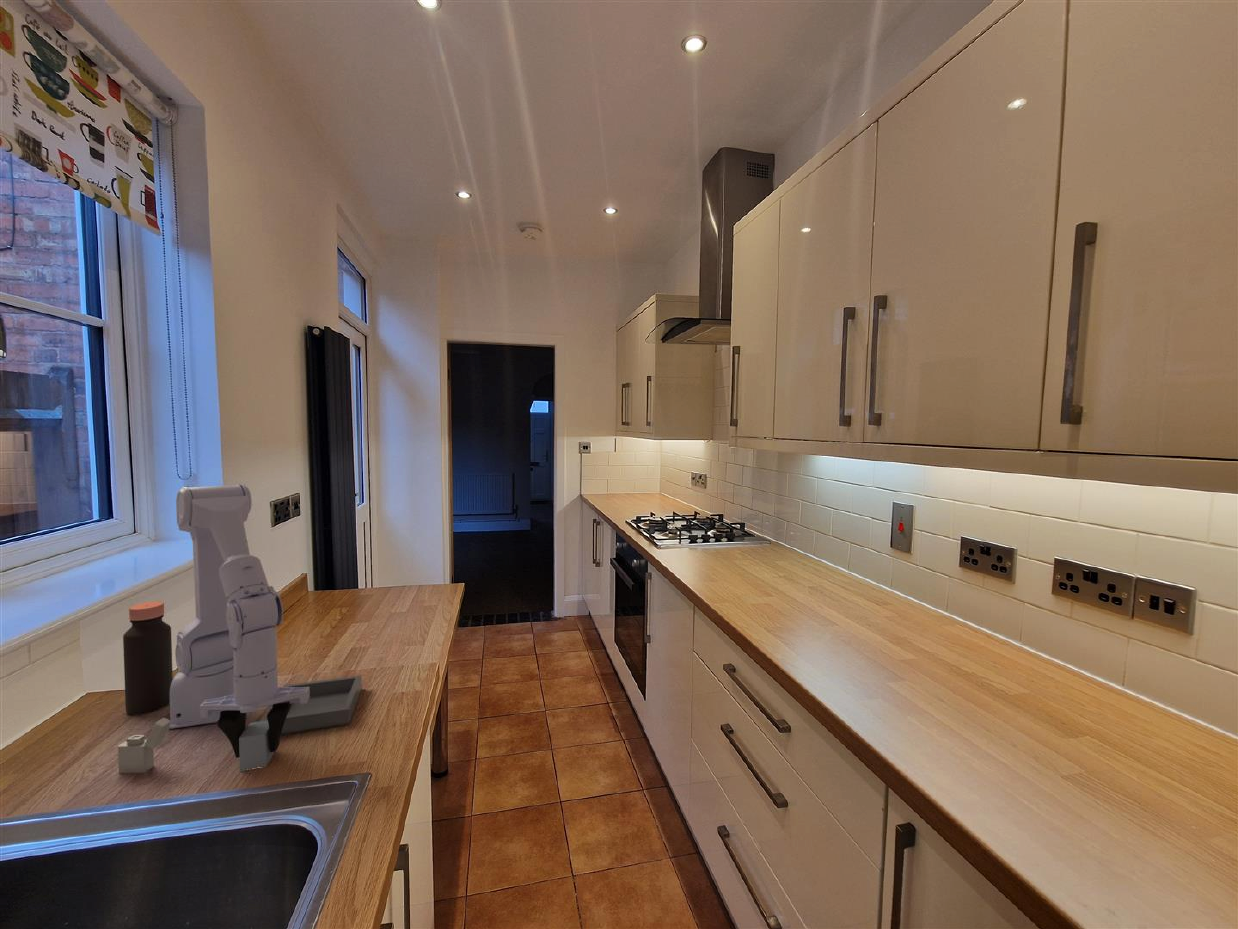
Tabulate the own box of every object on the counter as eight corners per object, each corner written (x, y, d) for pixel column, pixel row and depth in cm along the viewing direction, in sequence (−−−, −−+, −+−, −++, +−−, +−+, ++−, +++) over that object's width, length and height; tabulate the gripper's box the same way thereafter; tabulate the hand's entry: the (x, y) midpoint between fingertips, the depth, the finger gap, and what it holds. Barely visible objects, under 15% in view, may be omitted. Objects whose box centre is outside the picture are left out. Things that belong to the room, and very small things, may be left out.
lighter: (117, 773, 78) (116, 723, 78) (128, 766, 80) (126, 717, 79) (164, 773, 78) (162, 723, 78) (173, 765, 80) (172, 717, 80)
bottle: (155, 695, 102) (152, 598, 101) (182, 699, 100) (179, 601, 99) (116, 713, 95) (112, 609, 94) (144, 717, 94) (140, 612, 93)
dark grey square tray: (259, 738, 87) (258, 722, 87) (284, 699, 101) (284, 685, 100) (349, 725, 92) (348, 709, 92) (361, 689, 105) (361, 675, 105)
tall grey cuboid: (239, 772, 79) (239, 738, 78) (250, 755, 83) (249, 722, 83) (266, 767, 80) (265, 734, 80) (275, 751, 84) (274, 719, 84)
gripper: (188, 687, 75) (191, 776, 75) (300, 674, 79) (302, 757, 80) (210, 667, 81) (212, 748, 82) (312, 655, 86) (313, 733, 86)
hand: (258, 751), depth 81 cm, fingers open, 4 cm apart
